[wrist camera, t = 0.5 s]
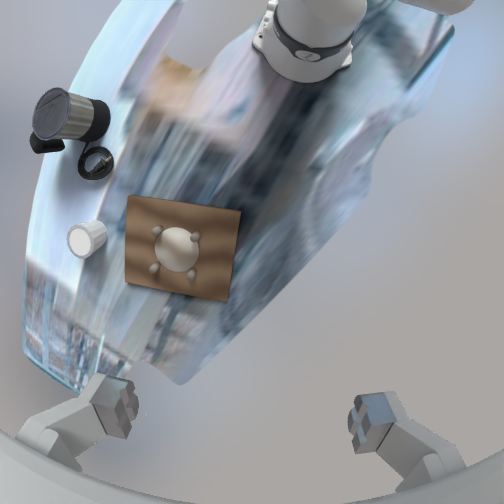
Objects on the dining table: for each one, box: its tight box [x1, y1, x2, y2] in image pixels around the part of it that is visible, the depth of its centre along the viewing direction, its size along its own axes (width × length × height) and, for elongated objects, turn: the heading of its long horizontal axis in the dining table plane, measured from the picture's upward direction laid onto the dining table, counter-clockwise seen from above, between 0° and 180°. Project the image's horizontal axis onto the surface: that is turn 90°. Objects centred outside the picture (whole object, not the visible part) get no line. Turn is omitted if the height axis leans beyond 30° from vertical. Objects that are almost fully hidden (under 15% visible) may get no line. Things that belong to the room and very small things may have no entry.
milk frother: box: [30, 87, 114, 180], centre depth 42 cm, size 14×16×15 cm
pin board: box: [125, 195, 241, 302], centre depth 53 cm, size 18×22×5 cm
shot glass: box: [67, 220, 108, 259], centre depth 51 cm, size 7×7×7 cm
